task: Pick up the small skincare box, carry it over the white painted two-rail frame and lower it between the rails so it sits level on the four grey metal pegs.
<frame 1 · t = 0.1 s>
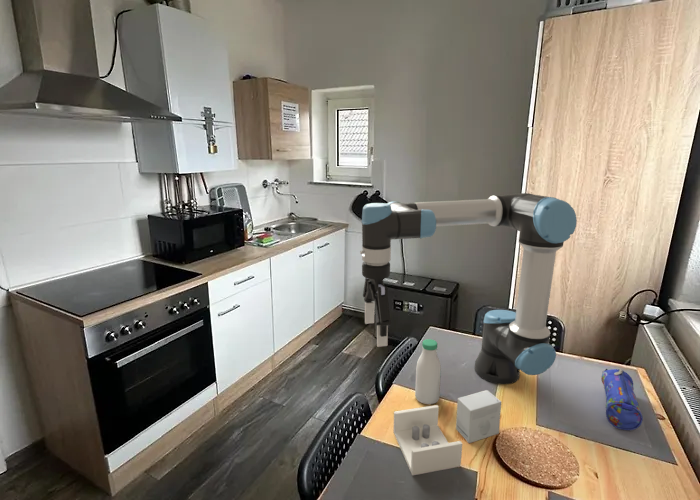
hand: (375, 333, 107), 28 cm above the table, fingers open, 13 cm apart
pencil case: (617, 410, 117), on the table
peg frame: (425, 448, 102), on the table
milk bottle: (427, 397, 123), on the table
skincare box: (476, 431, 109), on the table
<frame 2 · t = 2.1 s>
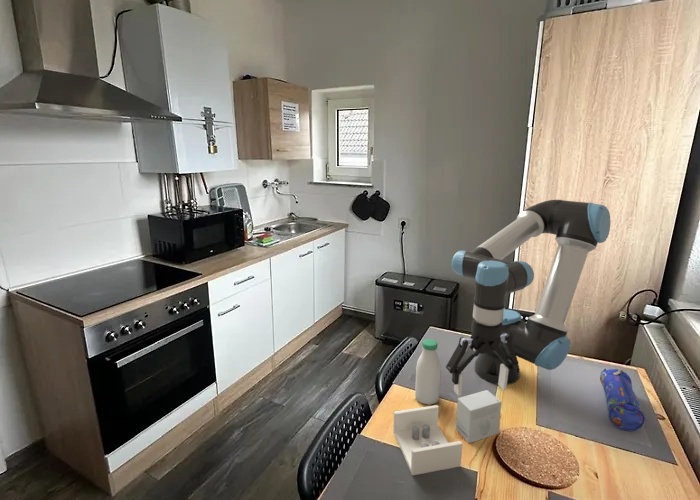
hand: (479, 390, 105), 14 cm above the table, fingers open, 13 cm apart
nothing on the table moved.
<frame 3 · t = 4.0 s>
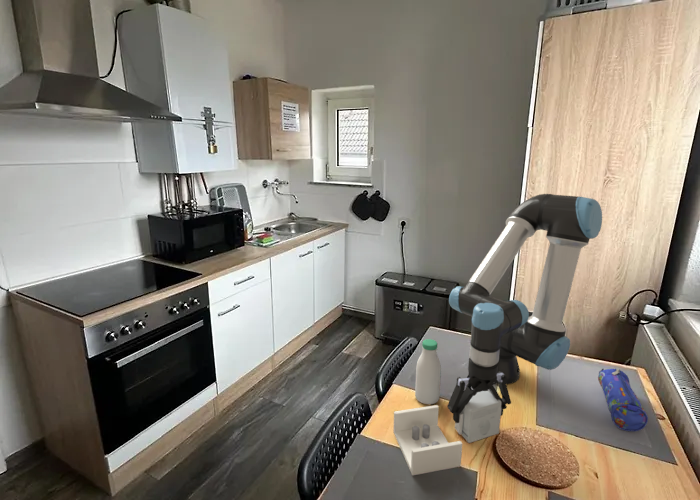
hand: (477, 427, 108), 1 cm above the table, fingers closed on skincare box, 11 cm apart
skincare box: (476, 431, 109), on the table, touching gripper
everything else where it was.
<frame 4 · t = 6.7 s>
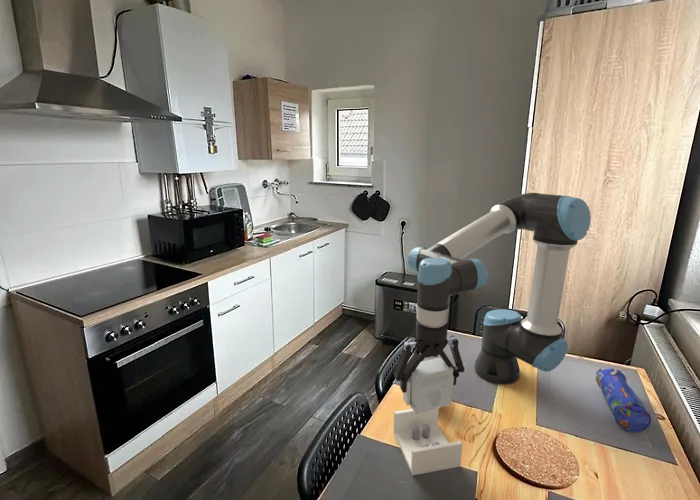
hand: (427, 398, 98), 16 cm above the table, fingers closed on skincare box, 11 cm apart
skincare box: (427, 402, 98), point 14 cm above the table, touching gripper
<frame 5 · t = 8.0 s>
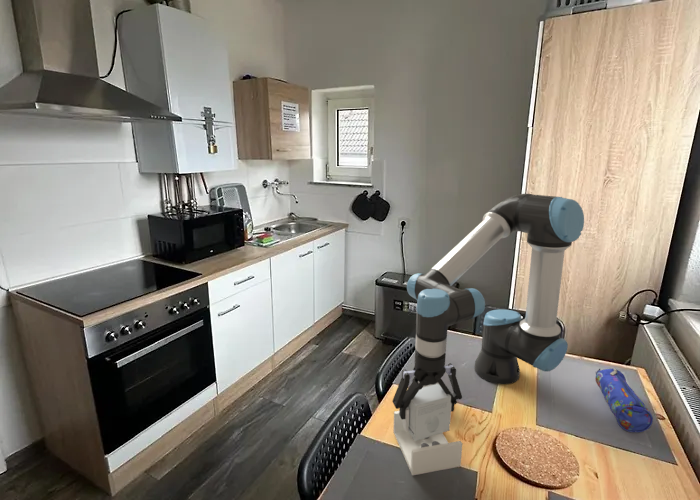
hand: (426, 424, 100), 8 cm above the table, fingers closed on skincare box, 11 cm apart
skincare box: (425, 428, 101), point 6 cm above the table, touching gripper
when the fingers open (6 cm above the table, at t = 9.3 s): skincare box drops 1 cm, resting on peg frame.
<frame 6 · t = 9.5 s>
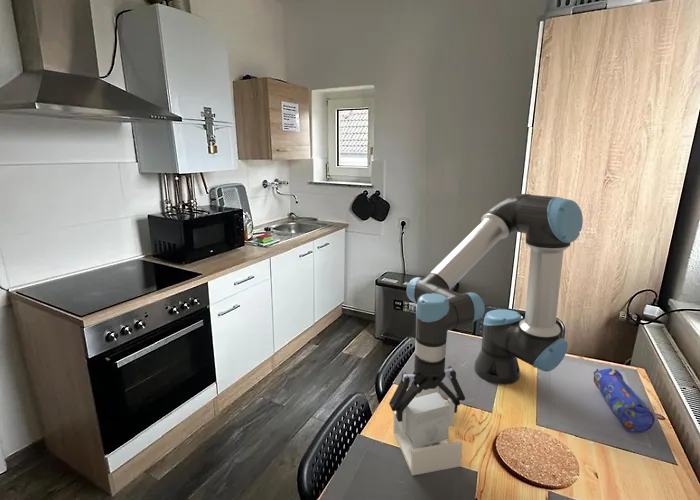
hand: (426, 426, 100), 7 cm above the table, fingers open, 13 cm apart
skincare box: (425, 436, 101), point 4 cm above the table, touching peg frame
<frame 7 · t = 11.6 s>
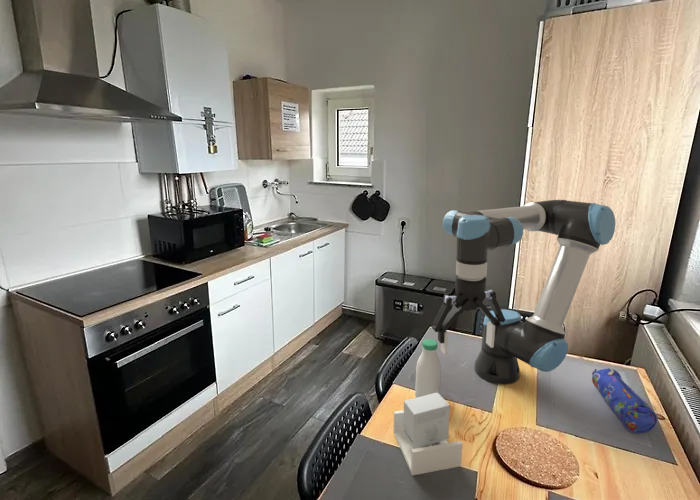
hand: (467, 348, 103), 25 cm above the table, fingers open, 13 cm apart
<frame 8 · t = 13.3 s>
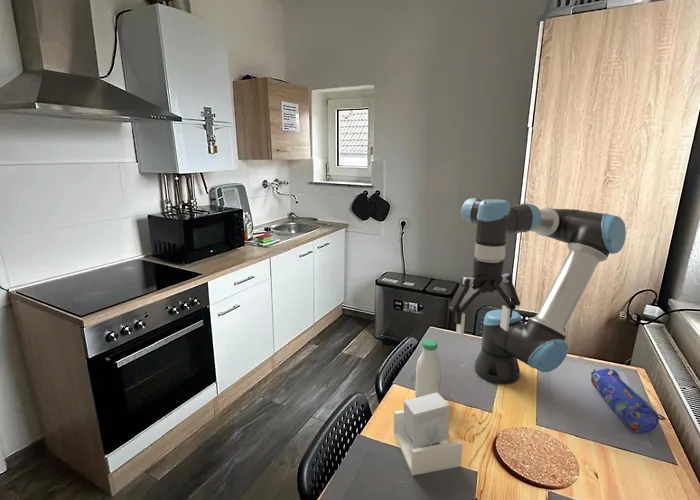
hand: (482, 331, 106), 29 cm above the table, fingers open, 13 cm apart
at the end: skincare box 0.2 cm off-centre on the peg frame, point 3.8 cm above the peg frame's base; skincare box tilted 0°; the gripper is holding nothing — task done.
